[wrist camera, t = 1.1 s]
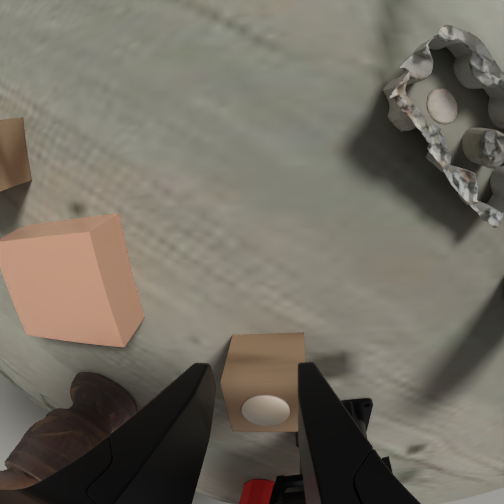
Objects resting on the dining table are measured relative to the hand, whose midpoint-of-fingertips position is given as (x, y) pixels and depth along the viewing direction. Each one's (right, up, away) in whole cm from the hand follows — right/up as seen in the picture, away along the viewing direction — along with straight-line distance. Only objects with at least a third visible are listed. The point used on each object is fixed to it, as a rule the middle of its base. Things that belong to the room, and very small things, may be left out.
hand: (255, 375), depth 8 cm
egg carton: (+13, +11, +8) cm, 19 cm away
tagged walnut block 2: (+1, -5, +15) cm, 16 cm away
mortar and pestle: (-16, -11, +19) cm, 27 cm away
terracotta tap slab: (-13, +2, +14) cm, 20 cm away
